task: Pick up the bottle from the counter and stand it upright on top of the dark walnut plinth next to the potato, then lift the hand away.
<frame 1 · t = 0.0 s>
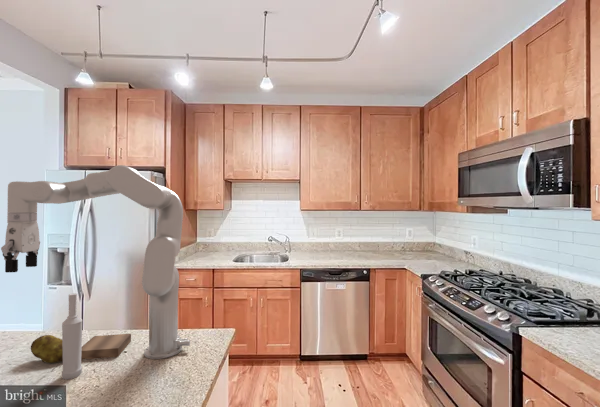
hand: (21, 269, 106), 31 cm above the countertop, tool pointing down, fingers open, 9 cm apart
potato: (51, 361, 107), on the countertop
bottle: (71, 375, 98), on the countertop
walnut plinth: (105, 350, 115), on the countertop
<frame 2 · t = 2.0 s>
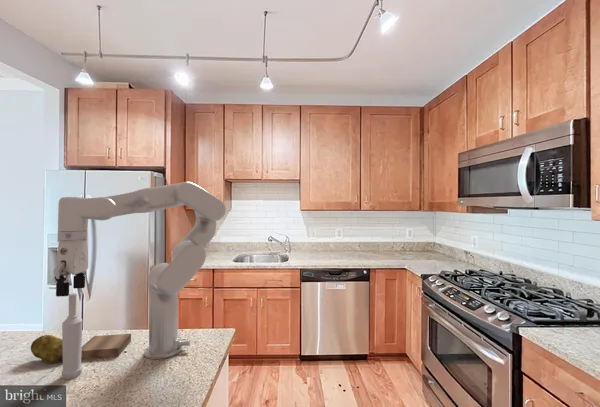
hand: (71, 291, 98), 26 cm above the countertop, tool pointing down, fingers open, 9 cm apart
nothing on the countertop moved.
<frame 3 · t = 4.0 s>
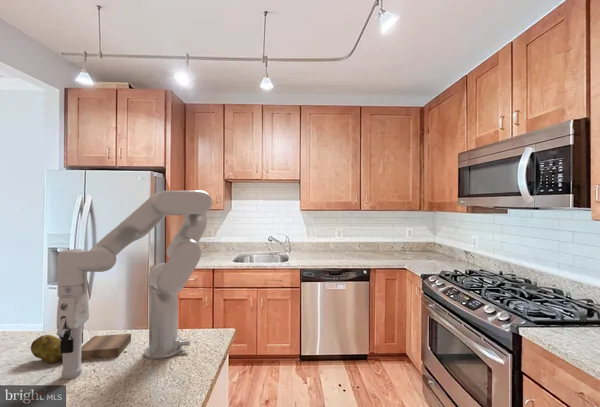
hand: (72, 347, 98), 8 cm above the countertop, tool pointing down, fingers closed on bottle, 5 cm apart
bottle: (71, 375, 98), on the countertop, touching gripper
everything else where it was.
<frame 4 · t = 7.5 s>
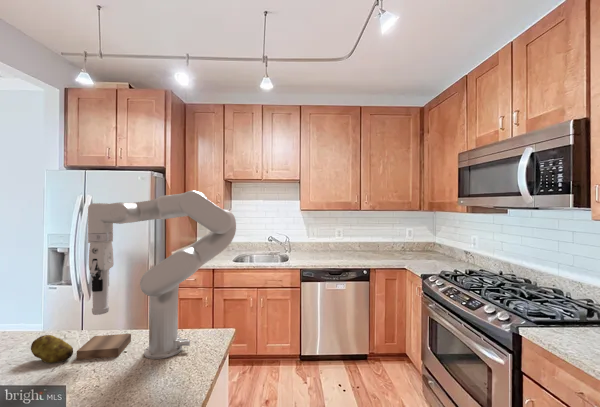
hand: (100, 288, 112), 23 cm above the countertop, tool pointing down, fingers closed on bottle, 5 cm apart
bottle: (100, 313, 112), point 15 cm above the countertop, touching gripper
everything else where it was.
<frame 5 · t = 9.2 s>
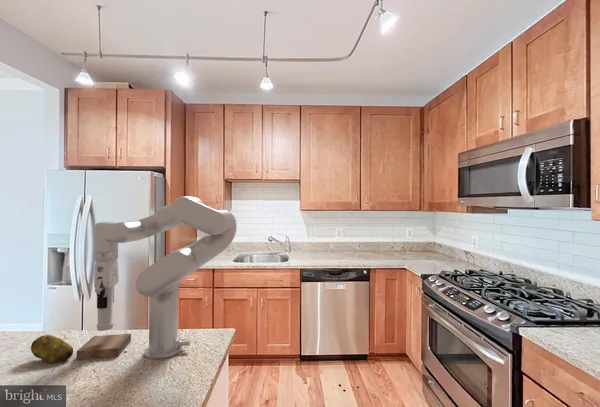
hand: (105, 305, 115), 16 cm above the countertop, tool pointing down, fingers closed on bottle, 5 cm apart
bottle: (105, 328, 115), point 8 cm above the countertop, touching gripper
everything else where it was.
when the fingers open (12 cm above the countertop, at t = 10.8 s): bottle stays where it is, resting on walnut plinth.
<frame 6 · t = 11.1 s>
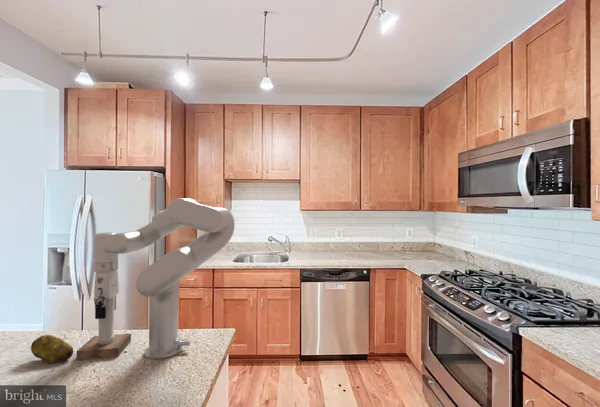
hand: (105, 314, 115), 13 cm above the countertop, tool pointing down, fingers open, 8 cm apart
bottle: (105, 342, 115), point 3 cm above the countertop, touching walnut plinth
everything else where it was.
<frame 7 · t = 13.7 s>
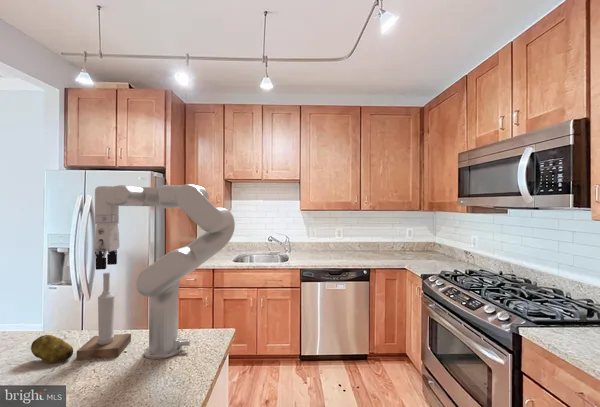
hand: (106, 266, 116), 30 cm above the countertop, tool pointing down, fingers open, 9 cm apart
nothing on the countertop moved.
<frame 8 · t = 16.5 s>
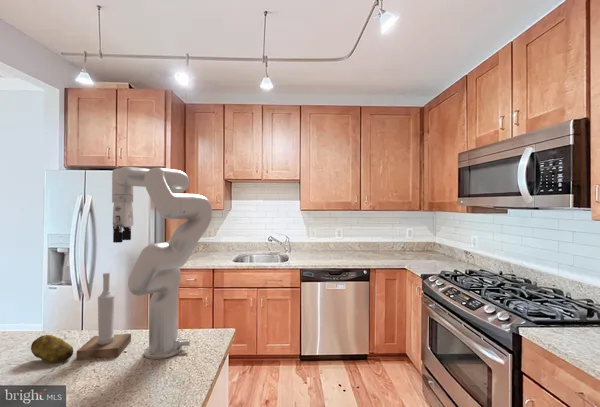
hand: (122, 241, 129), 38 cm above the countertop, tool pointing down, fingers open, 9 cm apart
nothing on the countertop moved.
at the end: bottle inside the target area on the walnut plinth (0.1 cm from its centre), point 2.8 cm above the walnut plinth's base; bottle tilted 0°; the gripper is holding nothing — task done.
